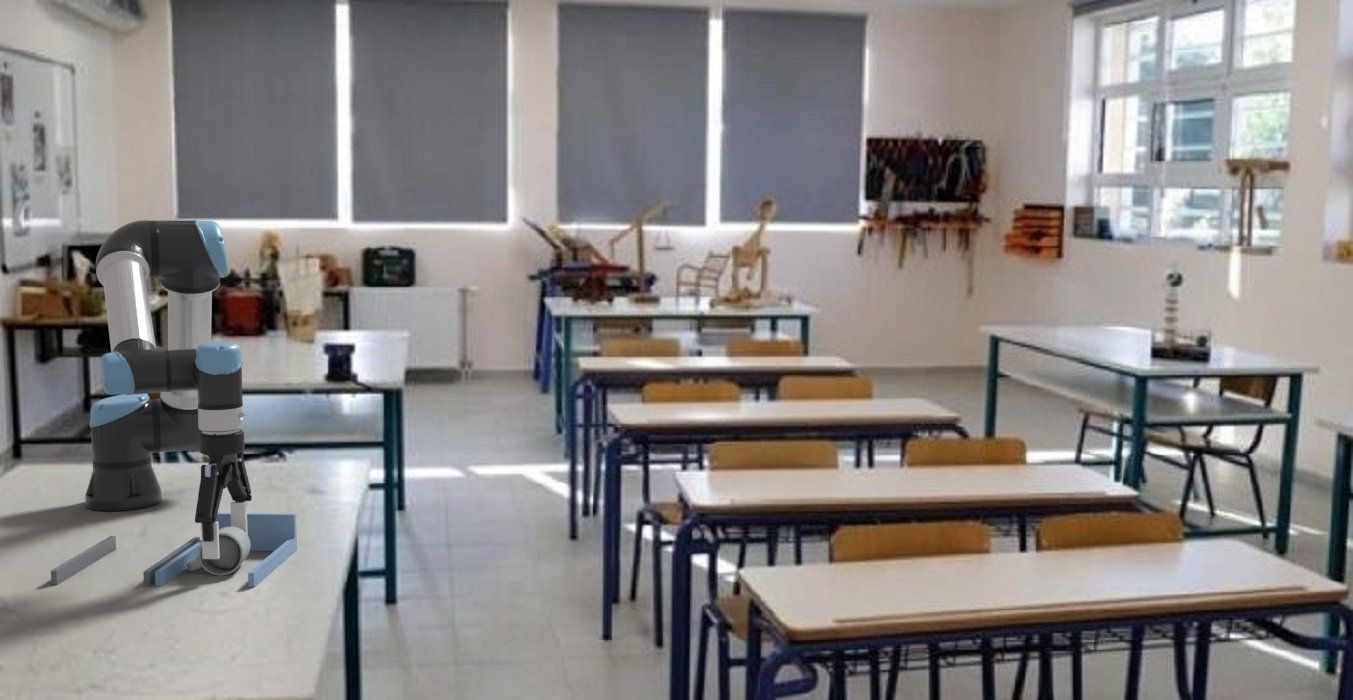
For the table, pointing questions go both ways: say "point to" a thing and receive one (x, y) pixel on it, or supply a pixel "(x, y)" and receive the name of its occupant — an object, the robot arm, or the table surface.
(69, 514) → the table surface
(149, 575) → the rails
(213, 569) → the ceramic mug
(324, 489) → the table surface
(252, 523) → the frame
